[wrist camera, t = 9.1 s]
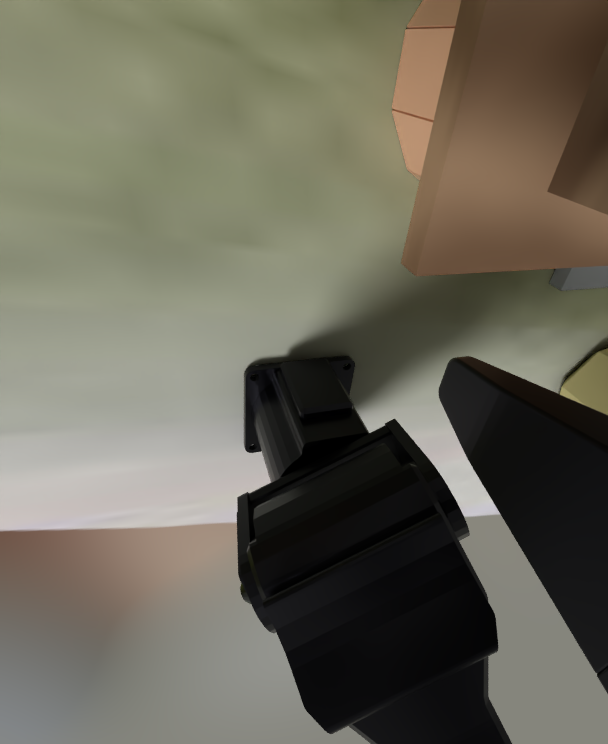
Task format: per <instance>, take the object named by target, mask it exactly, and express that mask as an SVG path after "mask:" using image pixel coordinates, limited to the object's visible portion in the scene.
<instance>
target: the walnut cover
mask: <svg viewBox="0 0 608 744" xmlns="http://www.w3.org/2000/svg"><path fill="white" fill-rule="evenodd" d="M401 264H402V265H404V266H405V267H406V268H407V269H408V270H409V271H410V272H412V273H413V274H414V275H415V276H430V275H448V274H466V273H484V272H503V271H521V270H539V269H557V268H576V267H594V266H608V0H461V4H460V8H459V12H458V17H457V21H456V25H455V30H454V34H453V38H452V43H451V47H450V52H449V56H448V60H447V65H446V69H445V73H444V78H443V82H442V86H441V91H440V95H439V99H438V104H437V108H436V112H435V117H434V121H433V125H432V130H431V134H430V139H429V143H428V147H427V152H426V156H425V160H424V165H423V169H422V173H421V178H420V182H419V186H418V191H417V195H416V199H415V204H414V208H413V212H412V217H411V221H410V226H409V230H408V234H407V239H406V243H405V247H404V252H403V256H402V260H401Z"/></svg>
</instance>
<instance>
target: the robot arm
mask: <svg viewBox="0 0 608 744" xmlns="http://www.w3.org/2000/svg"><path fill="white" fill-rule="evenodd" d="M347 363H348V364H347ZM345 364H347V365H346V366H344V365H345ZM354 367H355V363H354V361H353V360H352V358H351V357H349V356H341V357H331V358H319V359H310V360H301V361H292V362H284V363H276V364H267V365H258V366H251V367H249V368H247V369H246V370H245V373H244V446H245V450H246V451H247V452H249V453H254V452H260V451H262V454H263V457H264V460H265V464H266V467H267V470H268V474H269V477H270V480H271V483H269V484H267V485H265V486H263V487H261V488H259V489H257V490H255V491H253V492H251V493H248V492H247V493H245V494H243V495H241V496H239V497H238V512H237V539H238V574H239V578H240V581H241V587H240V590H241V595H242V597H243V599H244V600H245V601H246V602H248V603H250V604H252V606H253V608H254V611H255V612H256V614H257V616H258V618H259V620H260V621H261V622H262V624H263V625H264V627H265V628H266V629H267V630H268V631H270V632H272V633H275V632H277V635H278V637H279V639H280V641H281V644H282V646H283V648H284V651H285V653H286V656H287V659H288V661H289V664H290V667H291V670H292V673H293V676H294V678H295V682H296V685H297V687H298V690H299V693H300V696H301V699H302V702H303V705H304V707H305V709H306V711H307V712H308V713H309V714H310V715H311V716H312V717H313V718H314V719H315V720H316V722H318V724H319V725H320V726H321V727H322V728H323V729H324V730H325V731H327V733H329V734H333V733H335V732H337V731H339V730H341V729H343V728H345V727H347V726H349V727H350V728H352V729H353V730H354V731H356V732H357V733H358V734H359V735H361V736H362V737H363V738H365V739H366V740H367V741H368V742H370V743H371V744H512V743H511V741H510V739H509V737H508V735H507V733H506V731H505V729H504V727H503V725H502V723H501V721H500V719H499V717H498V715H497V713H496V712H495V709H494V708H493V706H492V704H491V702H490V700H489V697H488V656H490V655H492V654H494V653H495V652H497V651H498V639H497V628H496V618H495V614H494V612H493V610H492V608H491V606H490V604H489V603H488V597H487V594H486V592H485V590H484V588H483V586H482V584H481V582H480V580H479V578H478V576H477V575H476V573H475V571H474V569H473V567H472V565H471V563H470V561H469V559H468V558H467V555H466V553H465V552H464V550H463V548H462V546H461V544H460V542H459V541H460V540H462V539H464V538H465V537H467V536H469V530H468V526H467V523H466V521H465V518H464V516H463V514H462V512H461V510H460V508H459V506H458V504H457V502H456V500H455V498H454V496H453V495H452V493H451V491H450V489H449V488H448V486H447V484H446V483H445V481H444V480H443V478H442V476H441V475H440V473H439V472H438V471H437V469H436V468H435V466H434V465H433V464H432V462H431V461H430V460H429V459H428V458H427V456H426V455H425V454H424V453H423V452H422V450H421V449H420V448H419V447H418V446H417V444H416V443H415V442H414V441H413V440H412V439H411V437H410V436H409V435H408V434H407V433H406V431H405V430H404V429H403V428H402V427H401V425H400V424H399V423H398V422H397V421H396V419H393V420H391V421H389V422H387V423H385V426H383V427H381V428H379V429H377V430H375V431H373V432H371V433H369V432H368V430H367V428H366V426H365V425H364V423H363V421H362V420H361V418H360V416H359V414H358V413H357V411H356V409H355V408H354V406H353V402H352V400H351V399H350V397H349V394H350V388H351V383H352V378H353V373H354ZM253 374H257V375H256V376H254V377H250V376H251V375H253ZM439 398H440V401H441V403H442V405H443V407H444V410H445V412H446V414H447V416H448V418H449V420H450V422H451V425H452V427H453V429H454V431H455V433H456V435H457V437H458V439H459V442H460V444H461V446H462V448H463V450H464V452H465V454H466V456H467V458H468V460H469V462H470V463H471V465H472V467H473V469H474V470H475V472H476V474H477V476H478V477H479V479H480V481H481V482H482V484H483V486H484V487H485V489H486V491H487V492H488V494H489V496H490V497H491V499H492V501H493V502H494V504H495V506H496V507H497V509H498V511H499V512H500V514H501V516H502V517H503V519H504V520H505V522H506V524H507V526H508V527H509V529H510V530H511V532H512V534H513V535H514V537H515V539H516V541H517V542H518V544H519V546H520V547H521V549H522V551H523V552H524V554H525V555H526V557H527V559H528V561H529V562H530V564H531V566H532V567H533V569H534V571H535V572H536V574H537V576H538V577H539V579H540V581H541V582H542V584H543V586H544V587H545V589H546V591H547V592H548V594H549V596H550V597H551V599H552V601H553V603H554V604H555V606H556V608H557V609H558V611H559V612H560V614H561V616H562V617H563V619H564V621H565V623H566V624H567V626H568V627H569V629H570V631H571V633H572V634H573V636H574V638H575V639H576V641H577V643H578V644H579V646H580V648H581V649H582V651H583V653H584V654H585V656H586V657H587V659H588V661H589V663H590V664H591V666H592V668H593V669H594V671H595V672H596V673H597V677H598V678H599V680H600V682H601V683H602V685H603V687H604V688H605V690H606V692H607V693H608V415H606V414H604V413H602V412H599V411H597V410H595V409H592V408H590V407H588V406H585V405H583V404H581V403H578V402H576V401H574V400H571V399H569V398H567V397H564V396H562V395H560V394H557V393H555V392H553V391H550V390H548V389H546V388H543V387H541V386H539V385H536V384H534V383H532V382H529V381H527V380H525V379H522V378H520V377H518V376H515V375H513V374H511V373H508V372H506V371H504V370H501V369H499V368H497V367H494V366H492V365H490V364H487V363H485V362H483V361H480V360H478V359H476V358H473V357H469V356H466V357H457V358H453V359H451V360H450V361H449V363H448V365H447V367H446V370H445V373H444V376H443V379H442V381H441V384H440V387H439ZM252 444H254V445H252Z"/></svg>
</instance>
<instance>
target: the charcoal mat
mask: <svg viewBox="0 0 608 744" xmlns="http://www.w3.org/2000/svg"><path fill="white" fill-rule="evenodd" d="M549 284H551V285H552V286H554V287H556V288H557V289H559V290H561V291H564V290H577V289H591V288H605V287H608V266H594V267H576V268H557V269H555V272H554V274H553V276H552V278H551V280H550V282H549Z"/></svg>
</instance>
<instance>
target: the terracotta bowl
mask: <svg viewBox="0 0 608 744" xmlns="http://www.w3.org/2000/svg"><path fill="white" fill-rule="evenodd" d="M460 4H461V0H423V1H422V2H421V4H420V5H419V7H418V9H417V10H416V12H415V14H414V15H413V17H412V19H411V20H410V22H409V24H408V25H407V28H408V29H406V30H405V36H404V41H403V47H402V53H401V58H400V64H399V70H398V75H397V81H396V87H395V92H394V98H393V104H392V109H393V110H392V113H393V117H394V121H395V125H396V129H397V133H398V136H399V140H400V144H401V148H402V152H403V156H404V160H405V163H406V167H407V169H408V171H409V172H410V173H411V174H413V175H414V176H415V177H416V178H417V179H418V180H420V178H421V173H422V169H423V165H424V160H425V156H426V152H427V147H428V143H429V139H430V134H431V130H432V125H433V121H434V117H435V112H436V108H437V104H438V99H439V95H440V91H441V86H442V82H443V78H444V73H445V69H446V65H447V60H448V56H449V52H450V47H451V43H452V38H453V34H454V30H455V25H456V21H457V17H458V12H459V8H460Z"/></svg>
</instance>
